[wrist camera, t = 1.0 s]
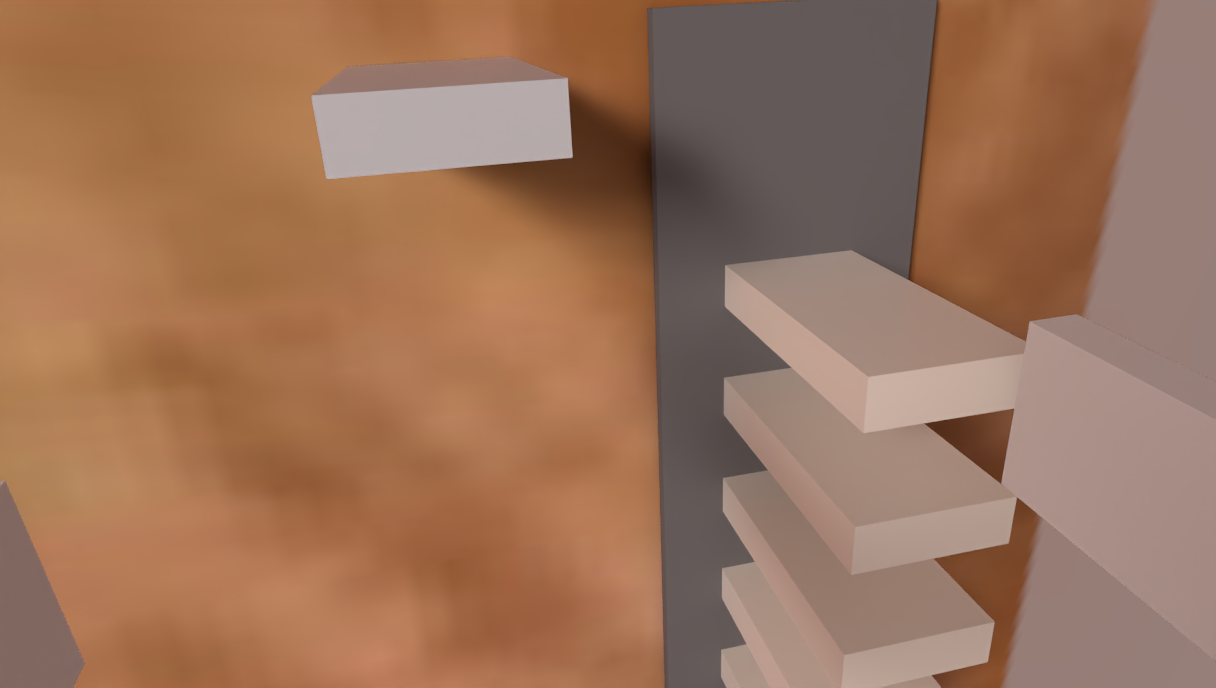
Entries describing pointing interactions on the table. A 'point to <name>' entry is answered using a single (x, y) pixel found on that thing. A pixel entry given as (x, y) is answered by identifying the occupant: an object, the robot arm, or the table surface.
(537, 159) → the domino
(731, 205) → the mat
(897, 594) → the domino
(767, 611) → the domino
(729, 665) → the domino
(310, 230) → the table surface
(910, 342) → the domino
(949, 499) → the domino
